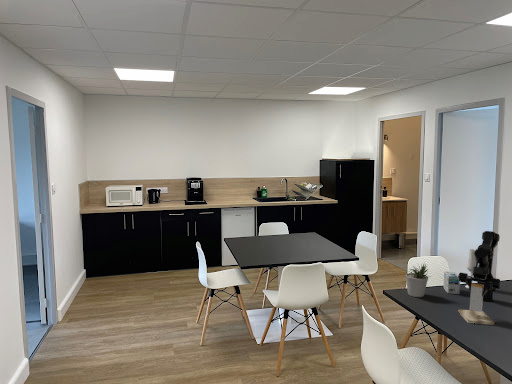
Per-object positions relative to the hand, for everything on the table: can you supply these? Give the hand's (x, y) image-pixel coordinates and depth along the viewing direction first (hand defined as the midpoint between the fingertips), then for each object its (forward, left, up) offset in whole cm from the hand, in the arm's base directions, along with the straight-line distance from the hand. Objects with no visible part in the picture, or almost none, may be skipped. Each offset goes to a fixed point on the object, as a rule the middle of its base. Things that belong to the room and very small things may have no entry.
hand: (476, 294), depth 197 cm
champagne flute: (-17, -53, -13) cm, 57 cm away
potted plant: (+21, -31, -13) cm, 40 cm away
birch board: (-1, -1, -13) cm, 13 cm away
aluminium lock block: (0, -1, -8) cm, 8 cm away
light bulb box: (-2, -43, -13) cm, 45 cm away
